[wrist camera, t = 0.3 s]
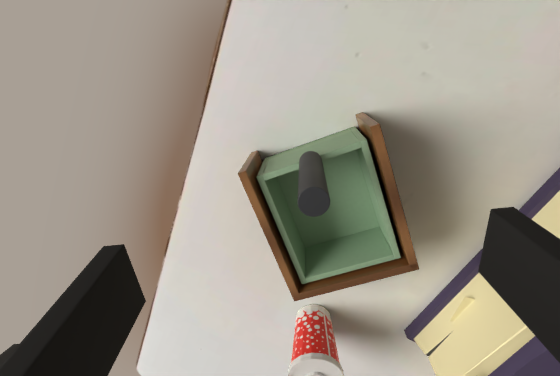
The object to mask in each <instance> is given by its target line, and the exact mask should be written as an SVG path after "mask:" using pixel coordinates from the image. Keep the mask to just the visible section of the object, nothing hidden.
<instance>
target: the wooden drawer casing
mask: <svg viewBox="0 0 560 376" xmlns="http://www.w3.org/2000/svg"><path fill="white" fill-rule="evenodd" d="M356 118H357V121H358V125H359V128H360V132H361V134H362V135H363V136H364V137H365V138H366V139H367V142H368V146H369V149H370V153H371V156H372V159H373V163H374V166H375V170H376V173H377V177H378V180H379V184H380V187H381V191H382V194H383V197H384V201H385V204H386V208H387V211H388V215H389V218H390V222H391V225H392V228H393V232H394V235H395V239H396V242H397V246H398V249H399V253H400V256H401V258H399V259H394V260H391V261H387V262H383V263H380V264H376V265H372V266H368V267H365V268H361V269H357V270H353V271H350V272H346V273H342V274H338V275H335V276H331V277H327V278H323V279H320V280H316V281H312V282H308V283H305V284H301V281H300V279H299V276H298V274H297V272H296V269H295V267H294V265H293V262H292V260H291V258H290V255H289V253H288V251H287V248H286V246H285V243H284V241H283V239H282V236H281V234H280V232H279V229H278V227H277V225H276V222H275V220H274V218H273V215H272V213H271V210H270V208H269V206H268V203H267V201H266V199H265V196H264V194H263V192H262V189H261V187H260V185H259V182H258V180H257V175H258V173H259V170H260V168H261V166H262V164H263V163H262V160H261V158H260V155H259V153H258V151H254V152H252V153H251V154H250V156H249V157H248V159H247V160H246V162H245V163H244V165H243V166H242V168H241V170H240V171H239V173H238V175H239V177H240V180H241V182H242V184H243V187H244V189H245V191H246V193H247V196H248V198H249V200H250V202H251V205H252V207H253V209H254V211H255V214H256V216H257V218H258V220H259V223H260V225H261V227H262V229H263V232H264V234H265V236H266V238H267V241H268V243H269V245H270V247H271V250H272V252H273V254H274V256H275V259H276V261H277V263H278V265H279V268H280V270H281V272H282V274H283V277H284V279H285V281H286V283H287V286H288V288H289V290H290V293H291V295H292V297H293V299H294V301H297V300H301V299H305V298H309V297H313V296H317V295H321V294H325V293H329V292H332V291H336V290H340V289H344V288H348V287H352V286H356V285H360V284H364V283H367V282H371V281H375V280H379V279H383V278H387V277H391V276H395V275H399V274H402V273H406V272H410V271H414V270H418V269H419V266H418V263H417V259H416V255H415V252H414V248H413V244H412V241H411V237H410V233H409V230H408V226H407V222H406V219H405V215H404V211H403V208H402V204H401V200H400V197H399V193H398V189H397V185H396V182H395V178H394V174H393V171H392V167H391V163H390V160H389V156H388V152H387V149H386V145H385V141H384V138H383V134H382V130H381V127H380V124H379V123H378V122H376V121H375V120H373V119H372V118H370V117H369V116H368V115H366V114H365V113H363V112H362V113H359V114H356Z"/></svg>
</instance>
